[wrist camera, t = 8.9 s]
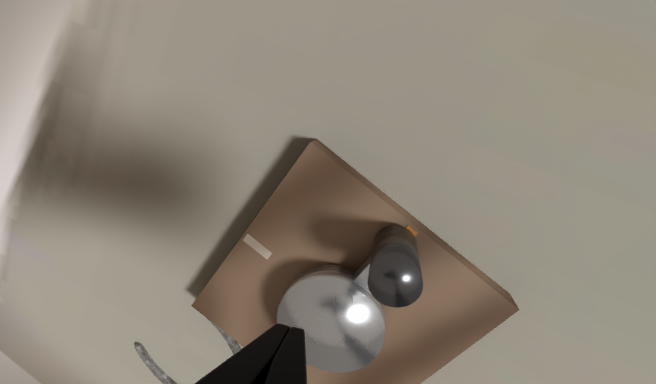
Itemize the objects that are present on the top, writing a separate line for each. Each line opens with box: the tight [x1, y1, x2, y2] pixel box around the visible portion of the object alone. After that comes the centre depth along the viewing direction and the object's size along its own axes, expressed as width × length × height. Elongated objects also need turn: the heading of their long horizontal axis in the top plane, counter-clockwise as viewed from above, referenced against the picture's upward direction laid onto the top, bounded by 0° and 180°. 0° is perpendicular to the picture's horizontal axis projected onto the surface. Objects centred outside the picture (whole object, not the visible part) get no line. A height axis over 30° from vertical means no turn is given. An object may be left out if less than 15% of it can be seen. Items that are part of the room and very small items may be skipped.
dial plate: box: [191, 139, 519, 384], centre depth 20 cm, size 15×15×2 cm
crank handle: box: [277, 225, 423, 373], centre depth 17 cm, size 10×6×4 cm, turn 145°
